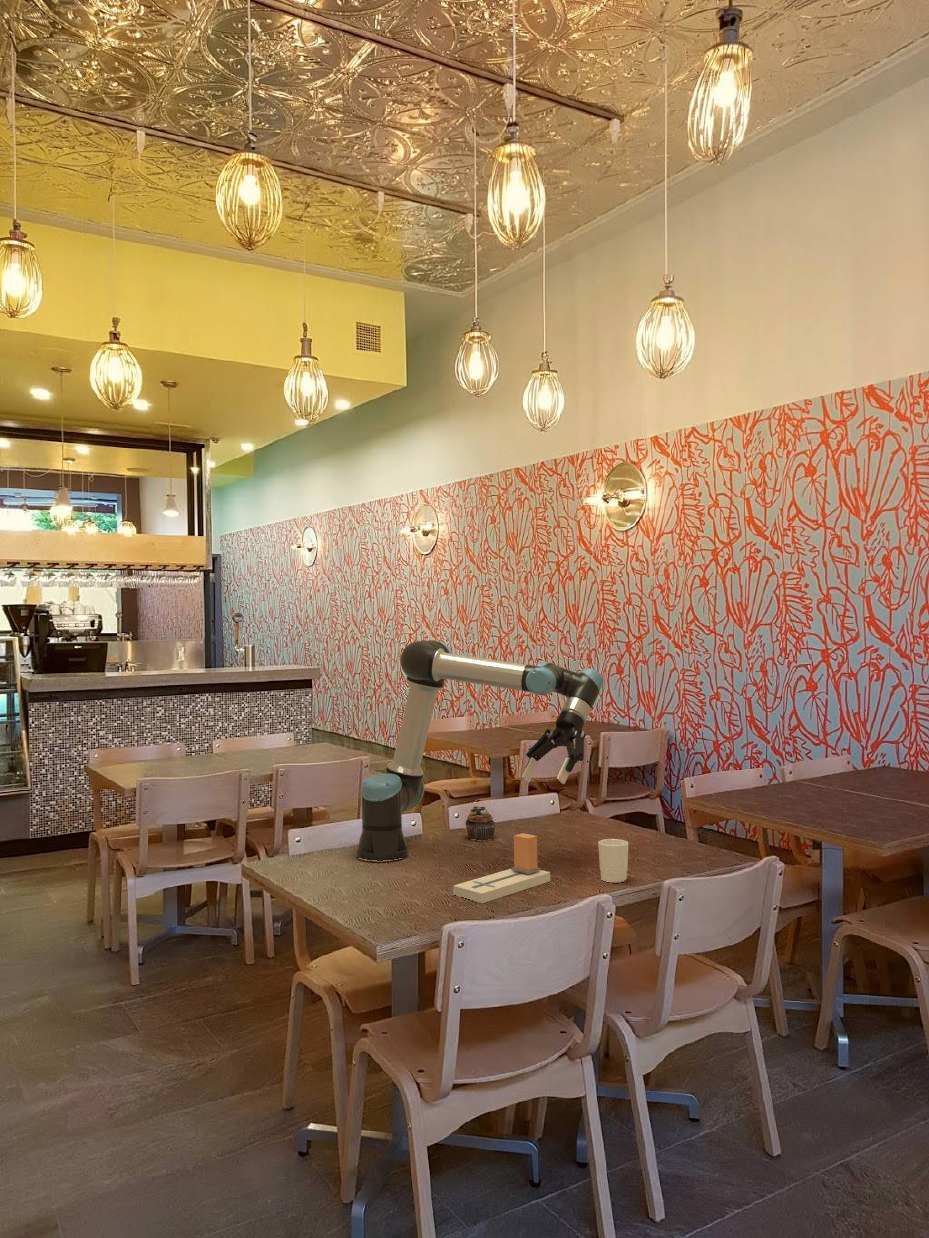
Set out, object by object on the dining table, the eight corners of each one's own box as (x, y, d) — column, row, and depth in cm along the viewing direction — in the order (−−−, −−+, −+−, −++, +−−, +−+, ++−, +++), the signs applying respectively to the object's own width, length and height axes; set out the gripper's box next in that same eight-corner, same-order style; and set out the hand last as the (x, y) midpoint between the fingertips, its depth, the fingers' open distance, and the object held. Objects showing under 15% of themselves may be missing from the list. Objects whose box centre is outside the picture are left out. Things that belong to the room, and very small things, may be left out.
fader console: (521, 874, 244) (521, 865, 244) (550, 881, 237) (550, 871, 237) (453, 895, 226) (453, 885, 226) (482, 903, 219) (481, 892, 219)
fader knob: (523, 866, 242) (523, 832, 242) (540, 870, 237) (540, 835, 238) (511, 870, 238) (510, 835, 238) (528, 874, 234) (527, 839, 234)
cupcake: (496, 841, 282) (495, 809, 282) (465, 842, 282) (465, 810, 282) (495, 834, 292) (495, 803, 292) (465, 835, 292) (465, 804, 292)
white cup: (610, 886, 232) (610, 847, 232) (592, 878, 239) (592, 841, 239) (635, 881, 236) (634, 843, 236) (616, 874, 243) (616, 837, 243)
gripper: (613, 724, 247) (584, 789, 237) (549, 726, 266) (519, 786, 256) (598, 707, 244) (567, 773, 234) (534, 710, 263) (503, 771, 253)
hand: (542, 780), depth 245 cm, fingers open, 13 cm apart
